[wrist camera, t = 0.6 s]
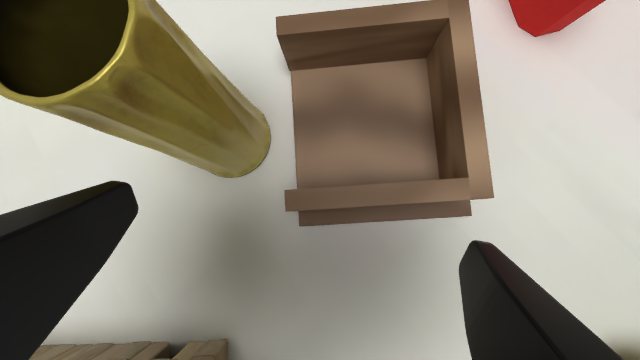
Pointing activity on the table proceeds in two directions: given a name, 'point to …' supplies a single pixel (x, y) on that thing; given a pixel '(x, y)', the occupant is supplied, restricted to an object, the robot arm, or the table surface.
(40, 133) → the table surface
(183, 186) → the table surface
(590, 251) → the table surface
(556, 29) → the french fries
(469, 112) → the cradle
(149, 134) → the vase
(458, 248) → the table surface
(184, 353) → the block tower
